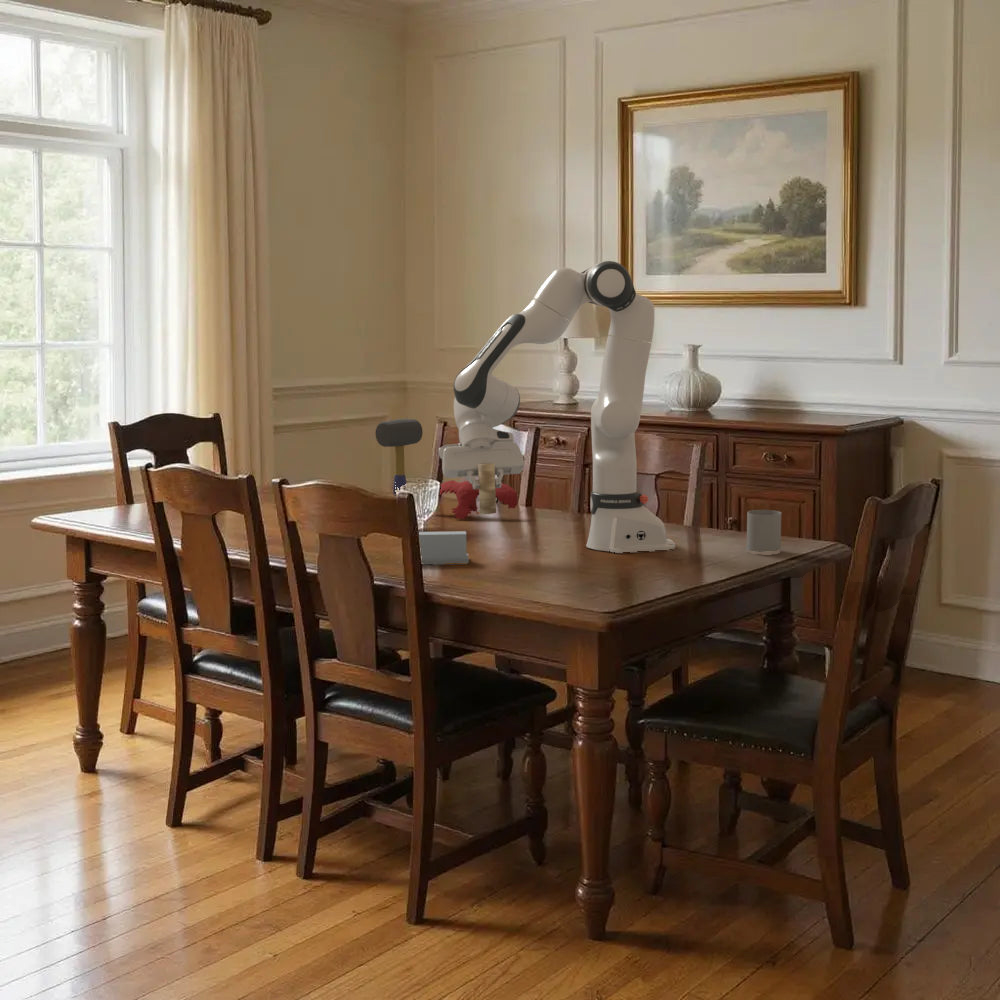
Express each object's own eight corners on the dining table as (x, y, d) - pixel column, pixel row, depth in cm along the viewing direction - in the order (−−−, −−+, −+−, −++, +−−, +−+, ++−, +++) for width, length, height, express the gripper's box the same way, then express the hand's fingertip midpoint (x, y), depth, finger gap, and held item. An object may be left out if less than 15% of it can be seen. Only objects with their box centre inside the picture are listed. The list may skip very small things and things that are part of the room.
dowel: (495, 511, 343) (494, 462, 341) (496, 513, 339) (494, 464, 338) (479, 511, 343) (477, 463, 341) (480, 514, 339) (478, 465, 337)
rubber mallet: (393, 531, 379) (391, 421, 375) (374, 528, 384) (372, 419, 380) (426, 525, 388) (424, 418, 384) (408, 522, 393) (406, 416, 389)
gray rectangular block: (468, 558, 340) (467, 530, 339) (468, 563, 333) (468, 535, 332) (406, 559, 340) (406, 531, 338) (406, 564, 333) (405, 536, 332)
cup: (784, 550, 348) (785, 511, 347) (776, 556, 341) (777, 516, 339) (751, 548, 352) (751, 509, 350) (742, 553, 344) (743, 513, 343)
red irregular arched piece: (512, 535, 396) (525, 492, 404) (502, 517, 389) (516, 474, 396) (423, 529, 407) (438, 487, 415) (412, 511, 400) (427, 469, 408)
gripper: (438, 437, 343) (447, 481, 335) (519, 432, 347) (529, 476, 339) (435, 453, 348) (444, 497, 340) (515, 448, 352) (525, 492, 344)
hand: (487, 487), depth 340 cm, fingers closed on dowel, 4 cm apart
